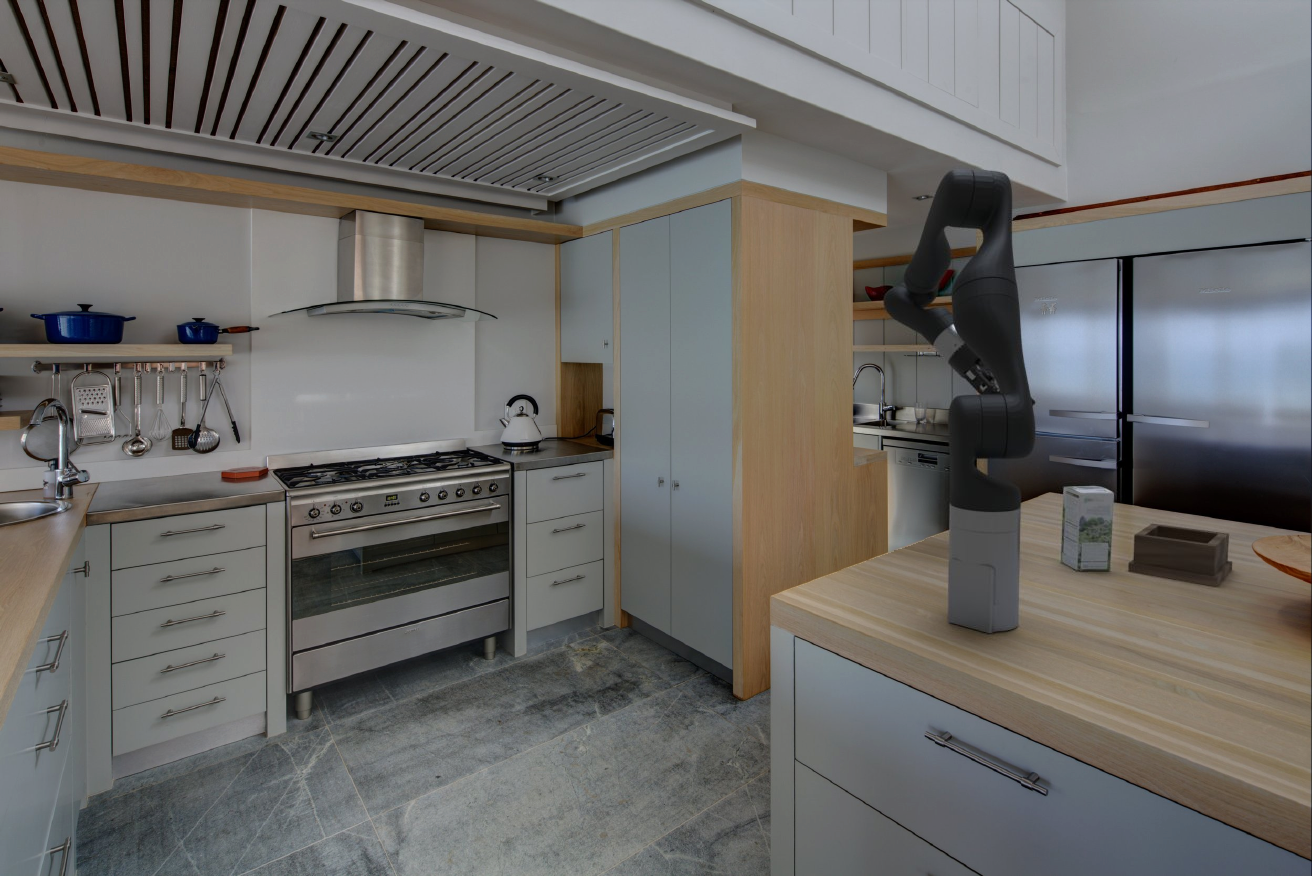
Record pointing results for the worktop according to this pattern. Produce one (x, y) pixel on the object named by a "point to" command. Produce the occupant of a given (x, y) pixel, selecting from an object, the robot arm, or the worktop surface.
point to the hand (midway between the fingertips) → (1022, 408)
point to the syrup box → (1087, 528)
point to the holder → (1181, 554)
